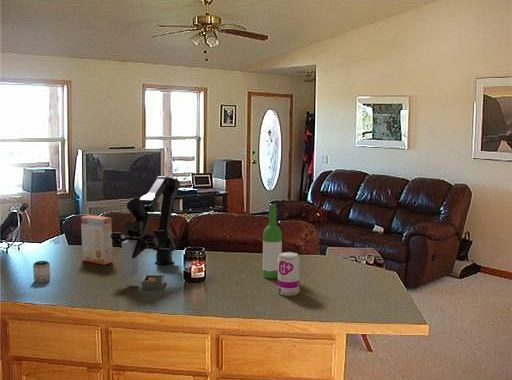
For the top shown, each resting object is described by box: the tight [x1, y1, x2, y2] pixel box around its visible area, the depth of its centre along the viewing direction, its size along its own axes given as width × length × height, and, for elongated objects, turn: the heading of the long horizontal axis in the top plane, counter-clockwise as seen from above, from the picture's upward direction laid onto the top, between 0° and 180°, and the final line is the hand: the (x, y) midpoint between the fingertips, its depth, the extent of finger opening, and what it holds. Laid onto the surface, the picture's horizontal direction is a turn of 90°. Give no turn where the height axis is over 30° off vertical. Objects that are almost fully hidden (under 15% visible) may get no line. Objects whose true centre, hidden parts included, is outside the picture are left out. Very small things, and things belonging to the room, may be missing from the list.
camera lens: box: [32, 260, 51, 284], centre depth 230 cm, size 6×6×8 cm
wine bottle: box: [262, 204, 283, 280], centre depth 236 cm, size 8×8×30 cm
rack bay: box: [140, 274, 166, 290], centre depth 225 cm, size 9×8×4 cm
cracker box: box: [80, 214, 114, 266], centre depth 259 cm, size 14×6×21 cm, turn 58°
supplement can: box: [277, 251, 301, 297], centre depth 216 cm, size 8×8×15 cm
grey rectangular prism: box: [121, 240, 139, 277], centre depth 225 cm, size 5×4×13 cm
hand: (128, 257), depth 224 cm, fingers closed on grey rectangular prism, 4 cm apart
